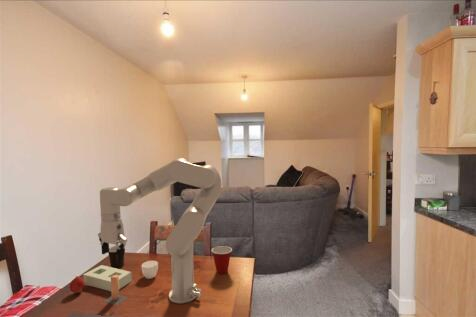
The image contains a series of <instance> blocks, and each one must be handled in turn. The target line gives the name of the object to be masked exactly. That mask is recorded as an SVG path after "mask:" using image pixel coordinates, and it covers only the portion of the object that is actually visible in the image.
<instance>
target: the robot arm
mask: <svg viewBox="0 0 476 317" xmlns="http://www.w3.org/2000/svg"><path fill="white" fill-rule="evenodd" d="M177 182H178V183H181V184H185V185H189V186H193V187H195V188H200V189H199V191H198V192H197V194H196V196H195V197H194V199H193V200H192V202H191V203H190V204H189V206H188V207H187V208H186V209H185V210H184V212H183V214H182V215H181V217H180V218H179V220H178V222H176V224H175V226H174V227H173V228H172V229H171V232H170V233H169V235H168V237H167V238H166V239H165V240H166V241H165V248H166V251H167V253H168V254H169V255H170V260H171V261H170V262H171V264H170V265H171V267H170V268H171V290H170V291H169V293H168V299H169V301H170V302H172V303H175V304H186V303H191V302H192V301H193V300H194V299H196V298H200V297H201V296H202V289H201V288H198V287H197V284H196V283H195V269H194V241H195V240H196V239H197V237H198V236H199V235H200V232H201V231H202V230H203V227H204V225H205V223H206V219H207V216H208V215H209V213H210V212H211V210H212V209H213V207H214V205H215V203H216V202H217V200H218V199H219V196H220V194H221V191H222V190H221V189H222V179H221V176H220V173H219V171H218V169H216V167H215V166H213V165H210V164H206V165H197V164H193V163H191V162H189V160H187V159H186V158H176V159H174V160H172V161H171V162H169V163H167V164H165V165H163V166H161V167H159V168H157V169H156V170H153V171H152V172H150V173H149V174H148V175H147V176H145V177H144V178H142V179H140V180H138V181H136V182H134V183H132V184H129V185H128V186H125V187H122V188H120V189H119V188H118V187H116V186H115V187H114V186H113V187H104V188H102V189H100V191H99V202H100V203H99V204H100V220H101V221H100V231H99V233H98V234H97V236H98V238H99V239H98V240H99V242H100V245H101V255H105V254H107V253H108V252H109V248H110V244H111V245H114V246H116V247H117V250H116V251H117V258H118V259H119V258H121V257H123V256H124V247H125V248H126V245H127V242H128V239H127V237H126V236H125V229H124V224H123V220H122V218H121V207H128V206H131V205H132V204H134V203H136V202H137V201H138V200H140V199H142V198H144V197H146V196H148V195H149V194H152V193H153V192H157V191H161V190H163V189H165V188H168V187H169V186H171V185H172V184H173V185H174V184H175V183H177ZM119 245H120V246H119Z"/></svg>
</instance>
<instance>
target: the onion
mask: <svg viewBox="0 0 476 317" xmlns="http://www.w3.org/2000/svg"><path fill="white" fill-rule="evenodd" d="M85 286H86V285H85V282H84V278H81V277H79V275H76V276H75V278H73V279H72V281H70V284H69V291H70V292H72V293H73V294H79V293H80V292H81V291H82V290H84V288H85Z"/></svg>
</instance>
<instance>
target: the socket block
mask: <svg viewBox="0 0 476 317" xmlns="http://www.w3.org/2000/svg"><path fill="white" fill-rule="evenodd" d="M82 275H83V280H84V282H85V286H88V287H95V288H97V289H100V290H105V291H109V292H111V277H112V276H113V275H118V276H119V290H121V289H122V288H124V287H125V286H127V285H128V284H129V283H131V282H132V271H128V270H125V269H121V268H119V269H116V268H112V267H111V266H108V265H104V264H101V265H99V266H97V267H95V268H93V269H91V270H89V271H87V272H86V273H84V274H82Z"/></svg>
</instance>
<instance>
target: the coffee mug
mask: <svg viewBox="0 0 476 317" xmlns="http://www.w3.org/2000/svg"><path fill="white" fill-rule="evenodd" d="M119 246H120V244H119ZM116 250H117V247H116V245H113V246H111V247H109V252H108V257H109V259H108V260H109V262H110V263H109V264H110V267H112V268H116V269H121V268H123V267H124V265H125V256H126V255H125V254H126V246H125V247H124V256H123V257H121V258H119V259H118V258H117V251H116Z"/></svg>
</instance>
